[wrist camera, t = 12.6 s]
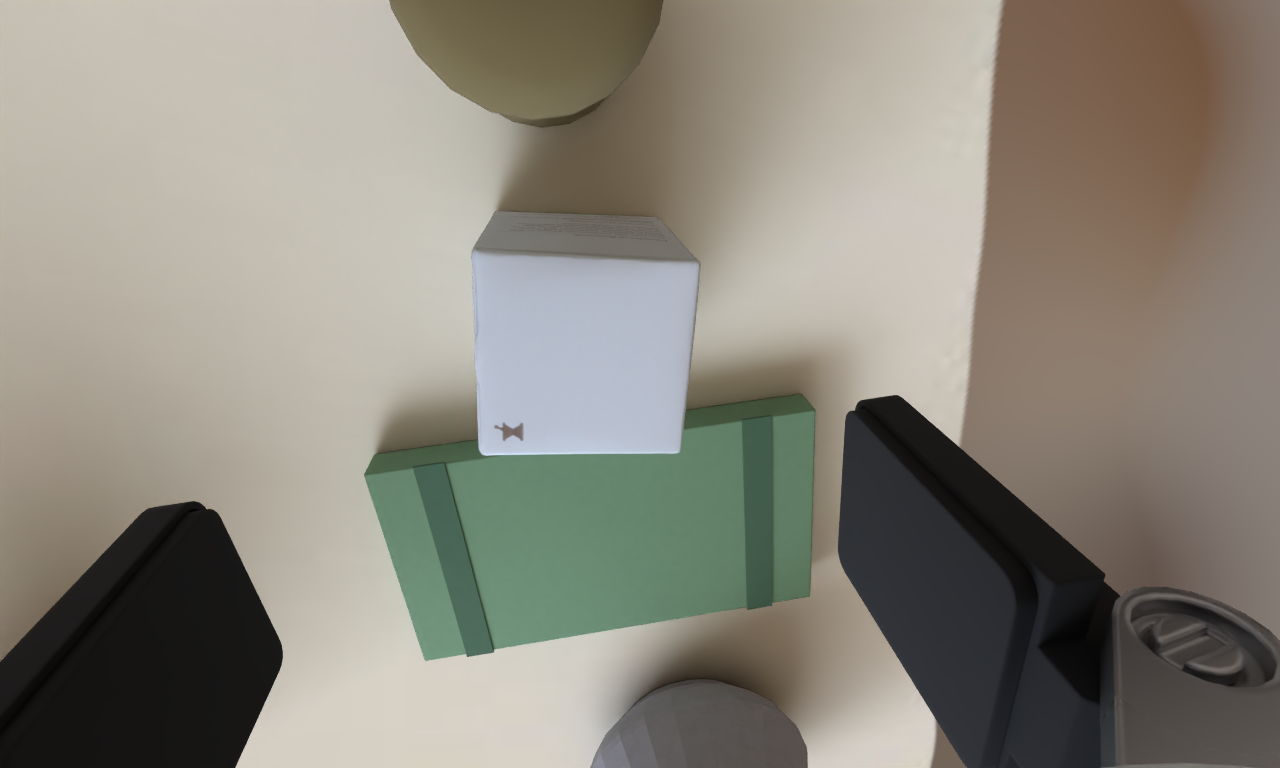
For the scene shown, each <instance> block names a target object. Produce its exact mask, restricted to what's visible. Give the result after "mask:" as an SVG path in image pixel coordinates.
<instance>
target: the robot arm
mask: <svg viewBox="0 0 1280 768" xmlns="http://www.w3.org/2000/svg"><path fill="white" fill-rule="evenodd" d="M838 553H839V558H840V562H841V565H842V567H843V569H844V571H845V573H846V575H847V576H848V578H849V580H850V581H851V583H852V584H853V586H854V588H855V589H856V591H857V592H858V594H859V596H860V597H861V599H862V601H863V602H864V604H865V605H866V607H867V609H868V610H869V612H870V613H871V615H872V617H873V618H874V620H875V622H876V623H877V625H878V626H879V628H880V630H881V631H882V633H883V635H884V636H885V638H886V639H887V641H888V643H889V644H890V646H891V647H892V649H893V651H894V652H895V654H896V656H897V657H898V659H899V660H900V662H901V664H902V665H903V667H904V668H905V670H906V672H907V673H908V675H909V677H910V678H911V680H912V681H913V683H914V685H915V686H916V688H917V689H918V691H919V693H920V694H921V696H922V698H923V699H924V701H925V702H926V704H927V706H928V707H929V709H930V710H931V712H932V714H933V715H934V717H935V719H936V720H937V722H938V723H939V725H940V726H941V728H942V730H943V731H944V733H945V735H946V736H947V738H948V740H949V741H950V743H951V744H952V746H953V748H954V749H955V751H956V752H957V754H958V756H959V757H960V759H961V760H962V762H963V763H964V764H965V766H966V767H967V768H1280V640H1279V639H1278V638H1277V637H1276V636H1275V635H1274V634H1273V633H1272V632H1271V631H1270V630H1269V629H1267V628H1266V627H1264V626H1263V625H1261V624H1260V623H1258V622H1257V621H1255V620H1254V619H1252V618H1251V617H1249V616H1248V615H1247V614H1245V613H1243V612H1241V611H1239V610H1237V609H1235V608H1233V607H1231V606H1229V605H1227V604H1225V603H1222V602H1220V601H1218V600H1215V599H1212V598H1210V597H1206V596H1204V595H1201V594H1197V593H1194V592H1192V591H1186V590H1181V589H1175V588H1170V587H1141V588H1138V589H1134V590H1130V591H1127V592H1125V593H1124V594H1123V595H1122V596H1120V595H1119V594H1118V593H1116V592H1115V591H1114V590H1113V589H1112V588H1111V587H1110V586H1108V585H1107V584H1106V583H1105V582H1104V578H1105V573H1104V572H1102V571H1101V570H1100V569H1099V568H1098V567H1097V566H1095V565H1094V564H1093V563H1092V562H1091V561H1090V560H1089V559H1087V558H1086V557H1085V556H1084V555H1083V554H1082V553H1080V552H1079V551H1078V550H1077V549H1076V548H1074V547H1073V546H1072V545H1071V544H1070V543H1069V542H1068V541H1066V540H1065V539H1064V538H1063V537H1062V536H1061V535H1060V534H1059V533H1057V532H1056V531H1055V530H1054V529H1053V528H1052V527H1050V526H1049V525H1048V524H1047V523H1046V522H1045V521H1043V520H1042V519H1041V518H1040V517H1039V516H1038V515H1037V514H1036V513H1034V512H1033V511H1032V510H1031V509H1030V508H1029V507H1027V506H1026V505H1025V504H1024V503H1023V502H1022V501H1021V500H1019V499H1018V498H1017V497H1016V496H1015V495H1014V494H1012V493H1011V492H1010V491H1009V490H1008V489H1007V488H1006V487H1004V486H1003V485H1002V484H1001V483H1000V482H999V481H998V480H996V479H995V478H994V477H993V476H992V475H991V474H989V473H988V472H987V471H986V470H985V469H983V468H982V467H981V466H980V465H979V464H978V463H977V462H976V461H974V460H973V459H972V458H971V457H970V456H969V455H967V454H966V453H965V452H964V451H963V450H962V449H961V448H959V447H958V446H957V445H956V444H955V443H954V442H953V441H951V440H950V439H949V438H948V437H947V436H946V435H945V434H943V433H942V432H941V431H940V430H939V429H938V428H936V427H935V426H934V425H933V424H932V423H931V422H930V421H928V420H927V419H926V418H925V417H924V416H923V415H921V414H920V413H919V412H918V411H917V410H916V409H915V408H913V407H912V406H911V405H910V404H909V403H908V402H906V401H905V400H904V399H903V398H902V397H900V396H898V395H893V396H886V397H879V398H873V399H866V400H861V401H859V402H858V403H857V406H856V408H855V411H850V412H848V413H847V416H846V420H845V435H844V452H843V469H842V486H841V503H840V520H839V537H838ZM282 659H283V650H282V645H281V642H280V639H279V637H278V635H277V633H276V631H275V629H274V627H273V625H272V623H271V621H270V619H269V617H268V615H267V613H266V610H265V608H264V606H263V604H262V602H261V600H260V598H259V596H258V594H257V592H256V590H255V588H254V586H253V584H252V581H251V579H250V577H249V575H248V573H247V571H246V569H245V567H244V565H243V563H242V561H241V559H240V557H239V555H238V553H237V550H236V548H235V546H234V544H233V542H232V540H231V538H230V536H229V534H228V532H227V530H226V528H225V526H224V524H223V522H222V519H221V518H220V516H219V514H218V513H217V512H216V511H214V510H211V509H206V508H205V506H203V505H202V504H201V503H199V502H195V501H192V502H185V503H179V504H172V505H165V506H159V507H153V508H149V509H147V510H145V511H144V512H143V513H141V514H140V515H139V516H138V517H137V519H136V520H135V521H134V522H133V523H132V524H131V525H130V526H129V527H128V528H127V529H126V530H125V531H124V532H123V533H122V534H121V535H120V536H119V537H118V539H117V540H116V541H115V542H114V543H113V544H112V545H111V546H110V547H109V548H108V549H107V550H106V551H105V552H104V553H103V554H102V555H101V556H100V557H99V558H98V560H97V561H96V562H95V563H94V564H93V565H92V566H91V567H90V568H89V569H88V570H87V571H86V572H85V573H84V574H83V575H82V576H81V577H80V578H79V580H78V581H77V582H76V583H75V584H74V585H73V586H72V587H71V588H70V589H69V590H68V591H67V592H66V593H65V594H64V595H63V596H62V597H61V598H60V600H59V601H58V602H57V603H56V604H55V605H54V606H53V607H52V608H51V609H50V610H49V611H48V612H47V613H46V614H45V615H44V616H43V617H42V618H41V619H40V621H39V622H38V623H37V624H36V625H35V626H34V627H33V628H32V629H31V630H30V631H29V632H28V633H27V634H26V635H25V636H24V637H23V638H22V639H21V641H20V642H19V643H18V644H17V645H16V646H15V647H14V648H13V649H12V650H11V651H10V652H9V653H8V654H7V655H6V656H5V657H4V658H3V659H2V660H1V662H0V768H235V767H236V765H237V762H238V760H239V758H240V756H241V754H242V752H243V749H244V747H245V745H246V743H247V741H248V738H249V736H250V734H251V732H252V730H253V727H254V725H255V723H256V721H257V719H258V717H259V714H260V712H261V710H262V708H263V706H264V703H265V701H266V699H267V697H268V695H269V692H270V690H271V688H272V686H273V684H274V682H275V679H276V677H277V675H278V673H279V671H280V668H281V665H282Z"/></svg>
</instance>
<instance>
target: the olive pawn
mask: <svg viewBox="0 0 1280 768" xmlns="http://www.w3.org/2000/svg"><path fill="white" fill-rule="evenodd" d="M389 1H390V5H391V9H392V11H393V13H394V14H395V16H396V18H397V20H398V22H399V23H400V25H401V27H402V29H403V31H404V32H405V34H406V36H407V38H408V40H409V41H410V43H411V45H412V47H413V49H414V50H415V52H416V54H417V55H418V56H419V57H420V58H421V59H422V60H423V61H424V62H425V63H426V64H427V66H428V67H429V68H430V69H431V70H432V71H433V72H434V73H435V74H436V75H437V76H438V77H439V78H440V79H441V80H442V81H443V82H444V83H445V84H446V85H447V86H448V87H449V88H450V89H451V90H453V91H454V92H456V93H458V94H460V95H462V96H463V97H465V98H467V99H469V100H471V101H472V102H474V103H476V104H478V105H480V106H481V107H483V108H485V109H487V110H488V111H490V112H494V113H499V114H500V115H502V116H504V117H506V118H508V119H509V120H511V121H513V122H517V123H522V124H527V125H532V126H537V127H547V126H554V125H562V124H569V123H571V122H573V121H575V120H577V119H579V118H580V117H582V116H584V115H586V114H588V113H590V112H592V111H594V110H595V109H596V108H597V107H598V106H599V105H600V103H601V102H602V101H603V100H604V99H605V98H606V97H608V96H609V95H610V94H611V93H612V92H613V91H614V90H615V89H616V88H617V87H618V86H619V85H620V84H621V83H622V82H623V81H624V80H625V79H626V77H627V76H628V75H629V74H630V73H631V72H632V71H633V70H634V69H635V68H636V67H637V66H638V65H639V63H640V61H641V59H642V57H643V55H644V53H645V51H646V49H647V47H648V45H649V43H650V41H651V39H652V37H653V34H654V32H655V30H656V28H657V26H658V24H659V21H660V15H661V9H662V4H663V0H389Z"/></svg>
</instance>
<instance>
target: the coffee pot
mask: <svg viewBox="0 0 1280 768" xmlns="http://www.w3.org/2000/svg"><path fill="white" fill-rule="evenodd" d="M590 768H808V761H807V748H806V745H805V743H804V740H803V738H802V736H801V734H800V732H799V729H798V728H797V726H796V725H795V724H794V723H793V722H792V721H791V720H790V719H789V718H788V717H787V716H786V715H785V714H784V713H783V712H782V711H781V710H780V709H778V708H777V707H776V706H775V705H774V704H773V703H772V702H771V701H770V700H768V699H766V698H764V697H762V696H760V695H758V694H756V693H754V692H752V691H749V690H746V689H744V688H741V687H737V686H732V685H730V684H728V683H725V682H720V681H715V680H710V679H691V680H686V681H681V682H676V683H672V684H669V685H667V686H664V687H662V688H659V689H657V690H654V691H653V692H651V693H650V694H648V695H647V696H645V697H644V698H642V699H640V700H639V701H638V702H637V703H636V704H635V705H634V706H633V707H632V708H631V709H630V710H629V711H628V712H627V713H626V714H625V715H624V716H623V717H622V718H621V719H620V720H619V721H618V722H617V723H616V724H615V725H614V726H613V727H612V728H611V729H610V731H609V732H608V733H607V734H606V735H605V737H604V739H603V741H602V743H601V745H600V746H599V748H598V750H597V752H596V754H595V757H594V759H593V762H592V765H591V767H590Z"/></svg>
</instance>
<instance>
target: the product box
mask: <svg viewBox="0 0 1280 768" xmlns="http://www.w3.org/2000/svg"><path fill="white" fill-rule="evenodd" d="M471 260H472V282H473V306H474V331H475V369H476V382H477V418H478V446H479V451H480V452H481V454H483V455H486V456H489V455H538V454H652V453H668V454H674V453H679V452H680V450H681V444H682V436H683V428H684V420H685V412H686V403H687V395H688V386H689V377H690V367H691V358H692V350H693V340H694V330H695V321H696V311H697V300H698V288H699V276H700V262H699V261H698V260H697V259H696V258H695V257H694V256H693V255H692V254H691V252H690V251H689V250H688V249H687V248H686V247H685V246H684V245H683V244H682V243H681V242H680V240H679V239H678V238H677V237H676V236H675V235H674V234H673V233H672V232H671V231H670V229H669V228H668V227H667V226H666V225H665V224H664V223H663V222H662V221H661V220H660V219H659V218H657V217H641V216H616V215H591V214H561V213H531V212H506V211H495V212H494V214H493V216H492V218H491V220H490V221H489V223H488V225H487V226H486V228H485V230H484V231H483V233H482V234H481V236H480V237H479V239H478V241H477V242H476V244H475V246H474V248H473V250H472V254H471Z"/></svg>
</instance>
